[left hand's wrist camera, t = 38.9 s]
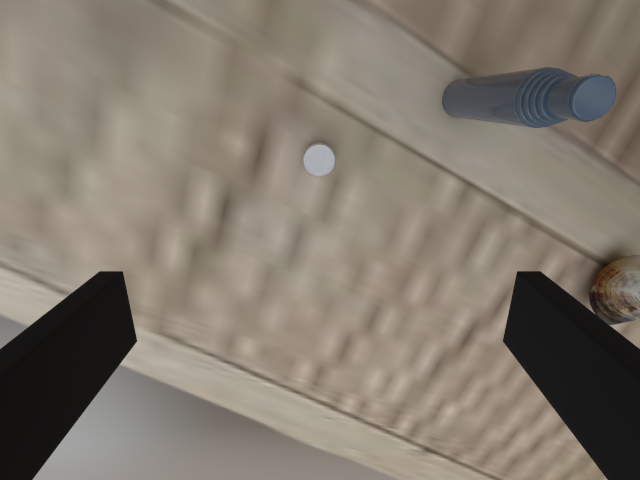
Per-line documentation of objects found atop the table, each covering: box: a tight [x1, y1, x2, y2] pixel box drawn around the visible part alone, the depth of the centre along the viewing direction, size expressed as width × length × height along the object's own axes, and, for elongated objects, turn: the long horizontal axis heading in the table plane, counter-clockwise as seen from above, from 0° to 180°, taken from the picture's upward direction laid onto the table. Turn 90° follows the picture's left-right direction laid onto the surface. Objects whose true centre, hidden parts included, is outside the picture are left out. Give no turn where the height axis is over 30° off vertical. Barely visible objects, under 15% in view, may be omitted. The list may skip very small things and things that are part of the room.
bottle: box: [442, 67, 616, 128], centre depth 33 cm, size 4×4×23 cm
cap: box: [303, 142, 335, 176], centre depth 45 cm, size 4×4×2 cm
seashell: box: [589, 255, 640, 325], centre depth 48 cm, size 10×6×8 cm, turn 157°
